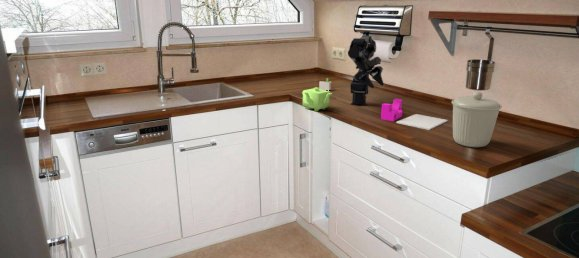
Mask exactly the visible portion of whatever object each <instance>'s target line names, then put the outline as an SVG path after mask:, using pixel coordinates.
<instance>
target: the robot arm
mask: <svg viewBox="0 0 579 258" xmlns="http://www.w3.org/2000/svg"><path fill="white" fill-rule="evenodd" d="M348 48H349V49H348V51H347V55H348V57H349V58H350V59H351V60H352V61H353V63H354V64H355V69H356V70H358V71H357V72H356V73H354V75H353V77H352V81H351V82H350V94H352V98H351V99H352V100H351V101H352V102H350V105H353V106H357V107H361V106H364V105H367V96H366V95H368V94H369V87H370V88H371V89H374V88H375V86H374V83H373V81H372V80H374V82H376V83H378V84H379V85H380V86H382V87H383V86H384V84H385V83H384V80H383V78H382V72H383V70H384V68H383V67H382V66H380V65H381V64H382V63H381V61H382V59H381V58H380V57H379V56H375V53H376V52H377V42H376V41H375V40H374V39H373V36H372V35H366V34H364V35H362V36H361V37H359V38H358V37H356V38H355V37H354V38H352V40H351V41H350V45H349V47H348ZM374 56H375V57H374ZM373 57H374V58H373ZM370 77H371V79H372V80H371V79H370Z"/></svg>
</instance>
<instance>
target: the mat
mask: <svg viewBox="0 0 579 258" xmlns="http://www.w3.org/2000/svg"><path fill="white" fill-rule="evenodd" d="M446 122H447V123H448V119H444V118H439V117H433V116H429V115H428V116H427V115H424V114H417V113H415V114H412V115H410V116H408V117H405V118H401V119H400V120H396V124H399V125H403V126H404V125H405V126H409V127H413V128H418V129H422V130H427V131H430V130H433V129H434V128H437V127H439V126H441V125H443V124H444V123H446Z"/></svg>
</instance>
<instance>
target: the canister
mask: <svg viewBox="0 0 579 258" xmlns="http://www.w3.org/2000/svg"><path fill="white" fill-rule="evenodd" d="M451 104H452V137H453V140H454V141H455V143H457V144H458V145H461V146H463V147H469V148H484V147H486V146H487V145H488V144H489V143H490V142H491V139H492V136H493V133H494V130H495V126H496V124H497V119H498V115H499V112H500V110H501V109H502V108H503V106H502V104H500V103H499V102H498V101H496V100H493V99H491V98H487V97H483V93H482V92H481V91H474V92H473V93H472V96H460V97H456V98H455V99H452V100H451Z"/></svg>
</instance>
